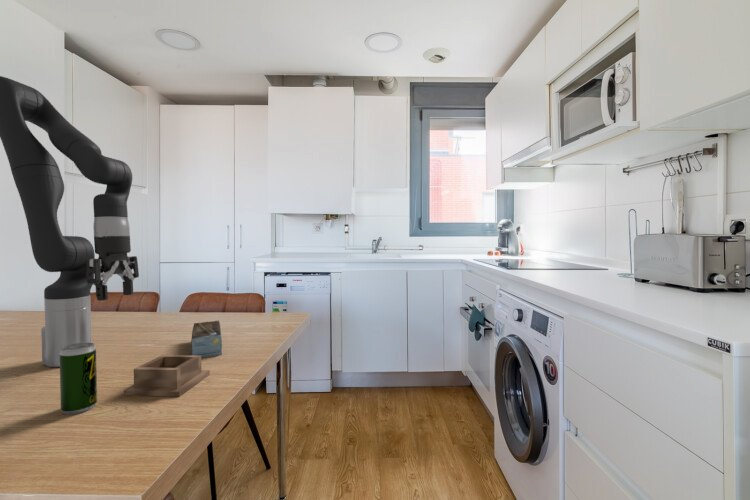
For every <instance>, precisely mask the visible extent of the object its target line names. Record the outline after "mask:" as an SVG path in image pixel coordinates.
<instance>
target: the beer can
mask: <svg viewBox="0 0 750 500" xmlns="http://www.w3.org/2000/svg"><path fill="white" fill-rule="evenodd" d="M97 372H98V371H97V347H96V346H95V343H94V342H91V343H90V342H88V343H77V344H71V345H67V346H64V347H62V348H61V352H60V367H59V388H60V393H59V394H60V410H61V412H62V414H64V415H67V416H68V415H77V414H81V413H85V412H87V411H89V410H90V411H91V410H92V409H93V408H95V406H96V404H97V403H98V383H97V382H98V377H97V376H98V375H97Z"/></svg>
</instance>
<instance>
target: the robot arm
mask: <svg viewBox="0 0 750 500" xmlns="http://www.w3.org/2000/svg"><path fill="white" fill-rule="evenodd" d="M27 122H29V123H31V124H33V125H34V126H37V127H39V128H40V129H42V130H44V131H45V132H46V133H47V136H48V139H49V141H50V142H51V144H52V145H53V146H54V147H55V148H56V150H58V151H59V152H60V153H61V154H63V155H64V156H65V157H66V158H67V159H69V160H70V161H72V162H73V163H74V166H76V168H77V170H78V171H79V172H80V173H81V174H82V176H84V177H85V178H86V179H88V180H90V181H91V182H93V183H95V184H99V185H100V184H101V185H105V186H106V189H105V192H104V193H100V194H97V195H95V196H94V198H93V202H92V203H93V205H92V206H93V224H92V225H93V242H94V243H93V244H92V243H91V241H90V240H89V239H87V238H85V237H83V236H77V235H76V236H75V235H74V236H73V235H63V232H62V231H61V228H60V225H59V220H58V209H59V206H60V205H61V201H62V199H63V197H64V193H65V183H64V180H63V176H62V174H61V170H60V167H59V164H58V163H57V161H56V159H55V158H54V157H53V155H52V154H51V153H50V151H49V150H48V149H46V147H45V146H44V145H43V144H42V143H41V142H40V141H39V140H38V139H37V138H36V137H35V135H34V134H33V132H32V131H31V130H30V128H29V127H28V124H27ZM0 140H1V143H2V146H3V149H4V151H5V155H6V156H7V160H8V163H9V167H10V171H11V175H12V177H13V180H14V184H15V187H16V188H17V192H18V195H19V198H20V201H21V205H22V208H23V211H24V215H25V219H26V222H27V228H28V234H29V240H30V245H31V251H32V255H33V258H34V260H35V262H36V264H37V266H39V267H38V268H40V269H41V270H43V271H44V272H45V271H46V272H48V273H60V274H59V275H60V276H59V277H58V278H57V279H56V280H55V281H54V282H53V283H51V284H50V285H48V286H46V287H45V288H44V291H43V293H44V294H43V297H44V300H43V302H44V326H43V327H41V332H40V333H41V336H40V337H41V364H42V365H45V366H46V367H49V368H58V367H59V368H60V352H61V348H62V347H64V346H67V345H71V344H77V343H88V342H90V343H92V309H91V308H92V307H91V289H92V287H93V285H94V286H95V298H96V299H97V301H99V302H100V301H107V300H108V298H109V297H108V292H109V291H108V285H107V284H108V281H109V279H110V278H112V277H113V275H117V276H119V277H120V279H121V280H122V292H123V295H124V296H131V295H133V294H134V284H133V283H134V281H135V279H136V278H139V276H140V275H139V263H138V256H134V255H133V256H129V255H128V254H129V253H130V252H131V251H132V249H131V246H132V245H131V231H130V230H131V229H130V223H129V217H128V216H129V214H128V200H129V196H130V193H131V188H132V184H133V173H132V169H131V168H130V166H129V165H128V164H127V163H126V162H125V161H122V160H120V159H116V158H112V157H108V156H105V155H103V154H102V150H101V148H100V147H99V145H98V144H96V143H95V142H94V141H93V140H92V139H91V138H90V137H88V136H87V135H86V134H84V133H82V132H81V131H80V130H79V129H78V128H77V127H75V126H74V125H72V123H70V122H69V121H68V120H67V119H66V118H65V117H64V116H63V115H62V114H61V113H60V112H59V111H58V109H56V107H55V106H54V105H53V104H52V103H51V102H50V101H49V99H48V98H47V97H45V96H44V94H43V93H41V91H39V90H37V89H36V88H34V87H32V86H30V85H27V84H25V83H22V82H20V81H17V80H15V79H14V80H13V79H11V78H9V77H5V76H2V75H0ZM93 245H94V247H93ZM95 254H96V255H98V257H97V258H95Z"/></svg>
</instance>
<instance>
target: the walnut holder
mask: <svg viewBox="0 0 750 500" xmlns="http://www.w3.org/2000/svg"><path fill="white" fill-rule="evenodd" d="M210 375H211V371H210V370H209V369H208V370H207V369H206V370H202V357H201V356H196V355H192V354H190V355H187V354H181V355H180V354H178V355H177V354H162V355H159V356H157V357H156V358H154V359H152V360H149V361H147V362H145V363H143V364H142V365H139V366H138V367H135V368H134V369H133V384H132V385H131V386H128V387H127V388H125V389H124V390H123V394H122V395H123V396H139V397H140V396H141V397H142V396H143V397H146V396H147V397H177V398H178V397H181V396H183V395H184V394H186V392H188V391H190V390H191V389H192V388H193V387H195V386H197V384H200V383H201V382H202V381H203V380H204V379H206V378H208V376H210Z"/></svg>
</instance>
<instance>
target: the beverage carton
mask: <svg viewBox="0 0 750 500" xmlns="http://www.w3.org/2000/svg"><path fill="white" fill-rule="evenodd" d="M221 330H222V329H221V323H220V320H214V321H213V320H212V321H203V322H202V321H201V322H194V323H193V326H192V332H191V340H190V341H191V345H190V347H191V351H190V352H191V355H196V356H201V358H207V357H215V356H222V354H223V351H222V350H223V347H222V345H223V344H222V342H223V341H222V331H221Z"/></svg>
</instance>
